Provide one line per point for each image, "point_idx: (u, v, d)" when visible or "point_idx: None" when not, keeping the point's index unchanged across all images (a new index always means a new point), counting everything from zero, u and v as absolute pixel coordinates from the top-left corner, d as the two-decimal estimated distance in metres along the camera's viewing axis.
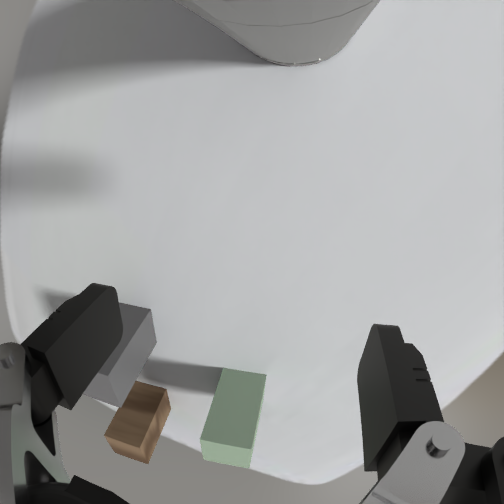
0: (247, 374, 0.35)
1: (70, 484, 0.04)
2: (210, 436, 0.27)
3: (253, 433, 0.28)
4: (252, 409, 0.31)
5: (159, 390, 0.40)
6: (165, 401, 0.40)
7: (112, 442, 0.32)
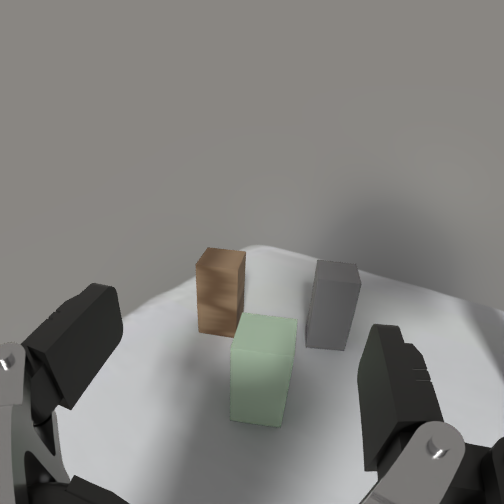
0: None
1: (70, 484, 0.04)
2: None
3: (291, 371, 0.25)
4: None
5: None
6: (223, 329, 0.41)
7: (233, 252, 0.41)
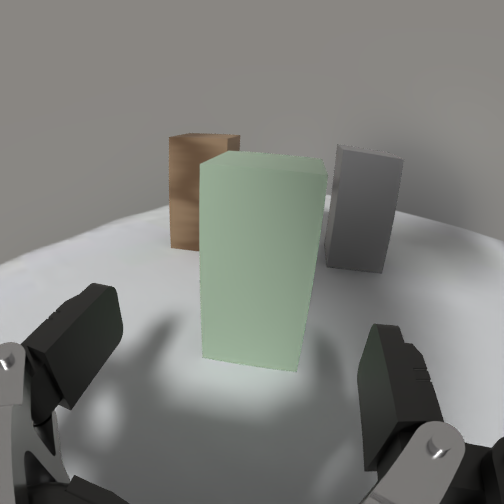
0: None
1: (70, 484, 0.04)
2: None
3: (321, 221, 0.13)
4: None
5: None
6: None
7: (223, 134, 0.28)
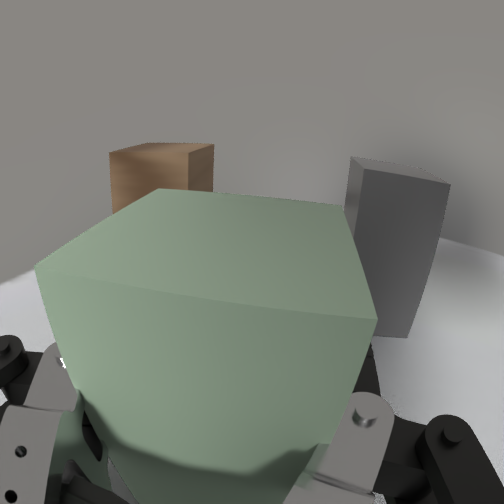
0: None
1: (70, 484, 0.04)
2: None
3: None
4: None
5: None
6: None
7: (190, 144, 0.20)
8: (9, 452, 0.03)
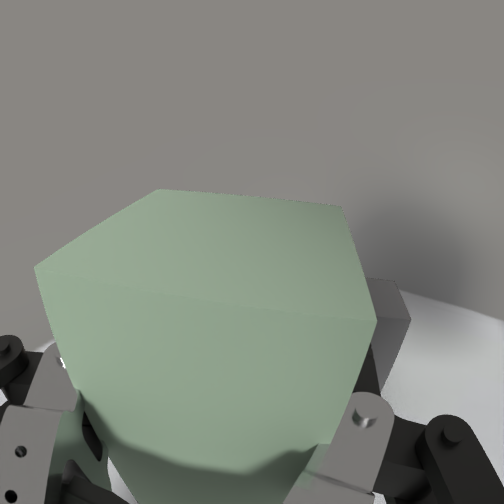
0: None
1: (70, 484, 0.04)
2: None
3: None
4: None
5: None
6: None
7: None
8: (9, 452, 0.03)
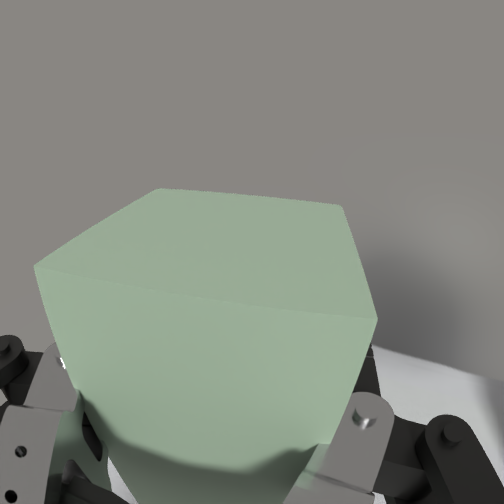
0: None
1: (70, 484, 0.04)
2: None
3: None
4: None
5: None
6: None
7: None
8: (9, 452, 0.03)
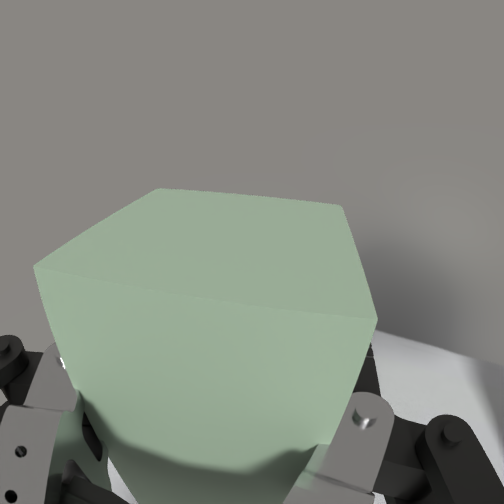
0: None
1: (70, 484, 0.04)
2: None
3: None
4: None
5: None
6: None
7: None
8: (9, 452, 0.03)
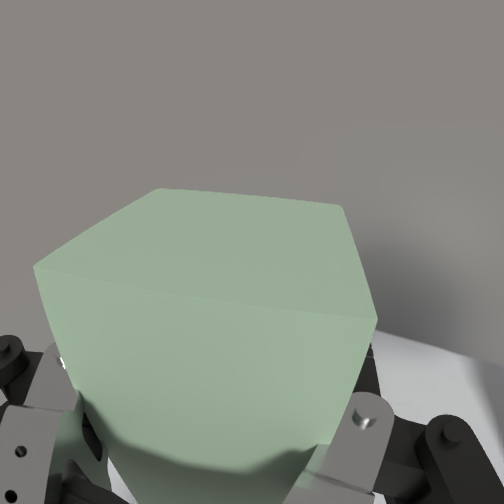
0: None
1: (70, 484, 0.04)
2: None
3: None
4: None
5: None
6: None
7: None
8: (9, 452, 0.03)
